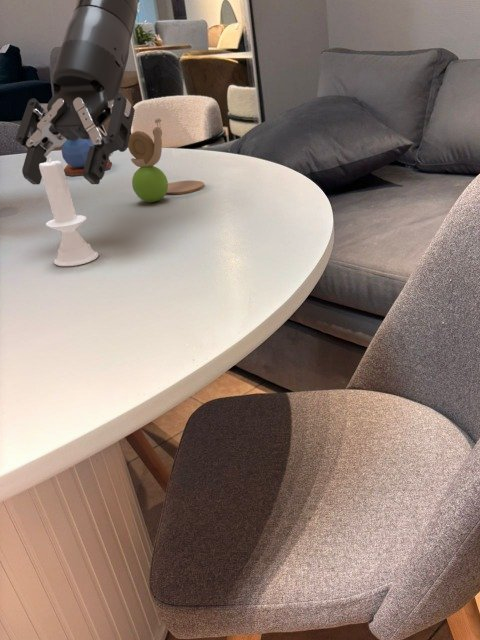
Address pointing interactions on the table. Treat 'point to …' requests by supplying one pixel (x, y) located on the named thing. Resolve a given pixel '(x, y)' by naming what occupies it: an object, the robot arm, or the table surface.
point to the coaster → (184, 187)
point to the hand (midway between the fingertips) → (60, 180)
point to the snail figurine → (148, 165)
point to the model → (77, 156)
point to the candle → (65, 217)
